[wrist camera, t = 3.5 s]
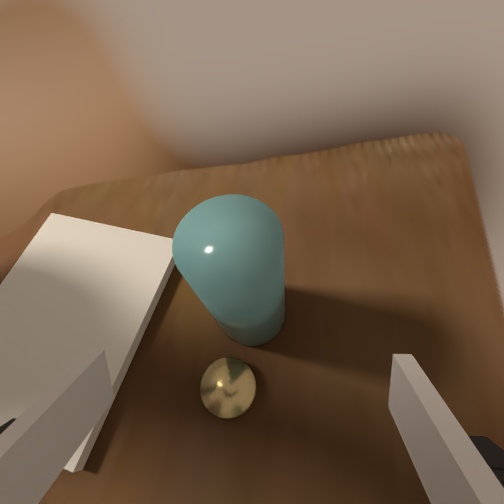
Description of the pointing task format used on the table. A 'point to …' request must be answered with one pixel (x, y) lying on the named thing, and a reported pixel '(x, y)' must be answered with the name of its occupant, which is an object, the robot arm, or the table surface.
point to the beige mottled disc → (228, 388)
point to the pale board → (76, 308)
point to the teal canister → (235, 265)
